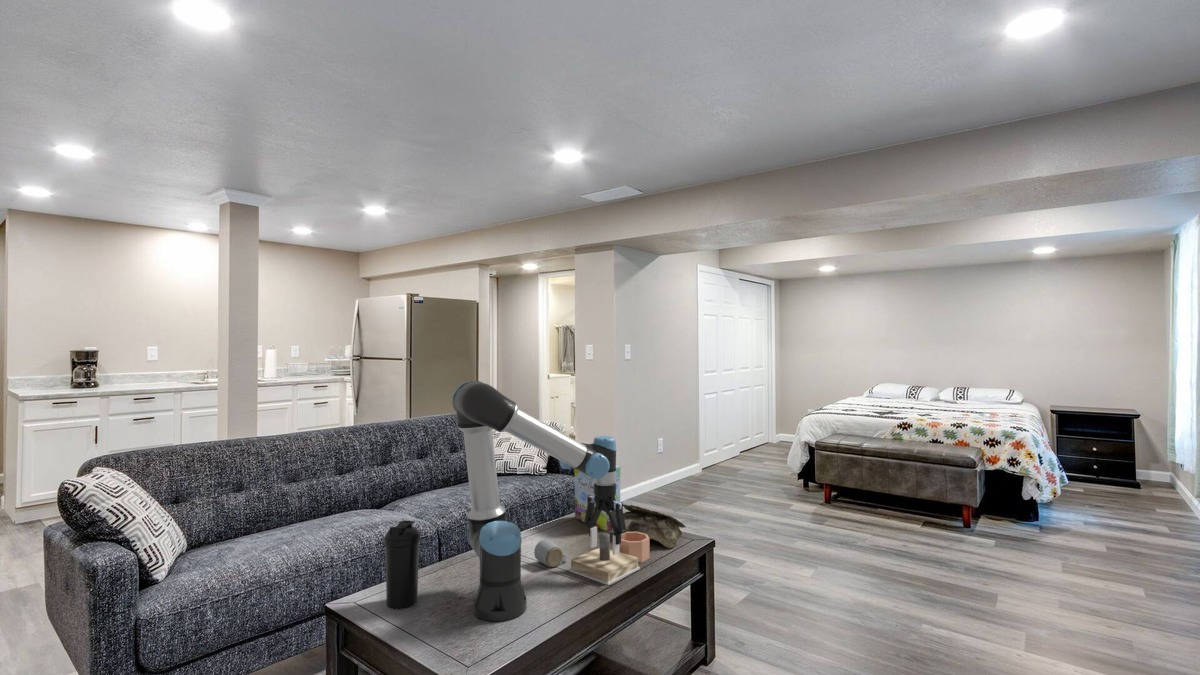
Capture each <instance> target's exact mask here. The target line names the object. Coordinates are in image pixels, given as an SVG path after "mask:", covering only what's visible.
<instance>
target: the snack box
mask: <svg viewBox="0 0 1200 675" xmlns="http://www.w3.org/2000/svg"><path fill="white" fill-rule="evenodd" d="M594 484H595V482H594V478H591V477H589V476H588V475H586V474H584V473H582V472H580V471H579V470H577V469H574V519H575V520H578V521H581V522H583V523H584V521H585V515H586V510H587V505H588V502H587V497H590V496H594V497H595V495H594ZM615 484H616V495H615V500H616V502H619V503H620V502H621V466H619V465H617V464H616V482H615ZM595 506H596V503H595V505H594V508H595ZM614 507H615V505H614ZM611 511H612V510H611ZM611 511H610V512H611ZM593 513H594V511H593ZM615 513H616V512H615ZM596 527H597V529H600V530H602V531H605V532H609V531H614V530H613V527H612V524H611V522H610V519H609V516H608V515H607V513H606V512H604V511H601V513H600V515H599V518H598V520H597V522H596Z"/></svg>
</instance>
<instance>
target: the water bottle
mask: <svg viewBox="0 0 1200 675" xmlns="http://www.w3.org/2000/svg"><path fill="white" fill-rule="evenodd" d="M415 523H416V521H414V520H400V521H399V522H398V524H397V525H395V526H391V527H390V528H389V530H388V531H386V533H385V535H384V536H383V543H384V544H383V545H384V546H385V547H384V550H385V586H386V589H385V590H386V595H385V596H386V607H387V608H388V609H390V610H404V609H408V608H411V607H413V606H415V605H416V604H417V602H418V587H419V565H420V564H419V560H420V559H419V558H420V542H421V539H422V538H421V537H422V536H421V535H422V534H421V532H420V531H419V529H418V528H417V527H416V526H414V525H413V524H415Z"/></svg>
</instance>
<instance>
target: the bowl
mask: <svg viewBox="0 0 1200 675" xmlns="http://www.w3.org/2000/svg"><path fill="white" fill-rule="evenodd" d="M650 540H651V539H649V537H648V535H647V534H644V533H641V532H627V531H626V533H623V534H621V544H620V547H619V552H621V553H624V554H627V555H631V556H634V557H637V558H638V563H644V562H645V561H647V560H649V559H650V557H651V556H650V553H651V552H650V550H651V548H650V547H651V546H650Z"/></svg>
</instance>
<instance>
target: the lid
mask: <svg viewBox="0 0 1200 675" xmlns="http://www.w3.org/2000/svg"><path fill="white" fill-rule="evenodd" d="M610 539H611V534H610V533H606V532H603V533H600V534H599V547H598V548H595V549H594V550H590V551H588V552H585V553H584V554H582V555H579V556H577V557H574V558H572V559H571V560H570V569H571V570H574V571H577V572H580V573H583V574H586V575H588V576H591V577H594V578H597V579H600V580H603V581H606V582H610V581H612V580H614V579H616V578H618V577H620V576H622V575H624V574H626V573H628V572H630V571H632V570H634V569H635V568H637V567H639V562H638V558H637V557H634V556H631V555H627V554H624V553H621V552H619V553H618V554H616V555H613V549H611V544H610V543H611V542H610V541H611V540H610Z"/></svg>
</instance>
